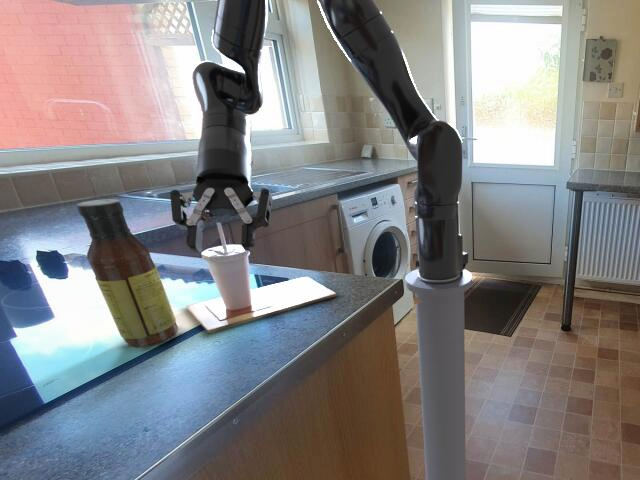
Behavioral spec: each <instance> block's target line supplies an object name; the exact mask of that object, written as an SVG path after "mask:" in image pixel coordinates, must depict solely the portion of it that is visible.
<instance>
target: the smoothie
mask: <svg viewBox="0 0 640 480" xmlns="http://www.w3.org/2000/svg"><path fill="white" fill-rule="evenodd" d="M216 227H217V231H218V234H219V238H220V242H221V245H217V246H213V247H209V248H206V249H204V250H203V251H202V252H201V253H200V254H201V259H202V261H203V262H205V263H206V265H207V268H208V271H209V273H210V274H211V277H212V280H213V281H214V284H215V286H216V288H217V290H218V293H219V295H220V297H222V300H223V302H224V304H225V306H226V308H227V309H229V310H238V309H243V308H246V307H248V306H250V305H251V304H252V299H251V290H252V287H251V277H250V261H249V256H250V254H251V252H250V251H245V250H244V248H243V247H242V244H227V242H226V238H225V234H224V230H223V226H222V222H220V221H218V222H216Z"/></svg>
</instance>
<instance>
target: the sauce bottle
mask: <svg viewBox="0 0 640 480" xmlns="http://www.w3.org/2000/svg"><path fill="white" fill-rule="evenodd" d="M76 208H77V211H78V215H80V217H82V218H83V220H84V222H85V225H86V228H87V229H88V233H89V237H90V239H91V242H90V245H89V247H88V249H87V253H86V254H87V255H86V258H87V261H88V262H89V265H90V268H91V269H92V271H93V272H92V273H94V276H95V277H94V278H95V281H96V283H97V285H98V288H99V289H100V292H101V295H102V296H103V298H104V300H105V303H106V306H107V307H108V310H109V313H110V314H111V317H112V319H113V322H114V324H115V326H116V328H117V331H118V333H119V335H120V338H122V339H123V341H124V343H125V344H127V345H128V346H129V347H134V348H141V347H147V346H148V347H149V346H151V347H152V346H155V345H158V344H161V343H164V342H167V341H169V340H171V339H172V338H173V337H175V336H176V335H177V333H179V331H178V330H179V326H178V324H177V319H176V316H175V314H174V310H173V308H172V305H171V303H170V300H169V298H168V294H167V292H166V290H165V287H164V284H163V282H162V281H163V280H162V279H161V276H160V274H159V271H158V268H157V266H156V263H155V262H154V261H153V259H152V256H151V253H150V250H149V248H148V247H147V246H146V245H145V244H143V243H142V242H141V241H140V240H139V239H138V238H137V237H136V236H135V235H134V234H133V233H132V232H131V228H129V227H128V223H127V221H126V218H125V215H124V208H123V205H122V203H121V201H120V200H119V199H112V198H111V199H95V200H86V201H82V202H79V203H77V204H76Z"/></svg>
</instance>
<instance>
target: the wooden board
mask: <svg viewBox="0 0 640 480" xmlns="http://www.w3.org/2000/svg"><path fill="white" fill-rule="evenodd" d="M335 297H338V296H337V292H335V291H333V290H331V289H329V288H328V287H326V286H324V285H323V284H321V283H319V282H318V281H316V280H314V279H312V278H311V277H309V276H303V277H299V278H294V279H290V280H287V281H281V282H278V283H273V284H269V285H266V286H261V287H256V288H254V289H251V299H252V304H251V305H250V306H248V307H246V308H243V309H238V310H229V309H227V308H226V306H225V304H224V302H223V300H222V297H221V296H219V297H217V298H212V299H208V300H204V301H201V302H200V301H199V302H196V303H192V304H187V305H185V307H186V310H187V311H188V312H189V313H190V314H191V316H193V317H194V319H195V320H196V321H197V322H198V323H199V325H201V327H202V329H204V330H205V331H206V333H208V334H212V333H215V332H219V331H223V330H227V329H230V328H233V327H237V326H240V325H243V324H246V323H251V322H253V321H257V320H260V319H264V318H267V317H270V316H274V315H277V314H281V313H284V312H288V311H291V310H294V309H298V308H301V307H304V306H308V305H311V304H315V303H319V302H323V301H325V300H329V299H332V298H335Z"/></svg>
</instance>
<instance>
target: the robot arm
mask: <svg viewBox="0 0 640 480" xmlns="http://www.w3.org/2000/svg"><path fill="white" fill-rule="evenodd" d="M316 1H317V4H318V6H319V8H320V11H321V14H322V16H323V18H324V21H325V23H326V25H327V28H328V29H329V30H330V32H331V34H332V36H333V38H334V40H335V41H336V42H337V45H338V46H339V48H340V49H341V50H342V51H343V53H344V54H345V56H346V57H347V59H348V61H349V62H350V64H351V65H352V66H353V67H354V69H355V70H356V71H357V73H358V75H360V77H361V79H362V80H363V81H364V82H365V84H366V85H367V87H368V88H369V89H370V91H371V92H372V93H373V94H374V96H375V97H376V99H377V100H378V102H379V103H380V104H381V105H382V106H383V108H384V110H386V112H387V113H388V115H389V117H390V118H391V120H392V122H393V124H394V125H395V128H396V129H397V131H398V133H399V134H400V136H401V138H402V140H403V142H404V144H405V146H406V148H407V149H408V151H409V153H410V155H411V156H412V157H413V159H414V161H416V164H417V165H416V167H417V171H416V172H417V182H416V185H415V187H414V190H413V196H414V197H413V200H414V216H415V232H416V235H415V236H416V251H417V253H416V254H417V260H416V261H415V262H414V263H415V269H418V278H419V280H421V281H422V282H425V283H429V284H446V283H451V282H454V281H456V280H458V279H459V278H460V276H463V270H464V269H465V268H466V266H467V264H468V263H469V253H468V252H465V251H464V242H463V241H464V240H463V239H464V237H463V236H462V235H463V234H460V208H459V207H460V206H459V205H460V202H459V199H460V192H461V189H462V184H463V144H462V143H463V141H462V138H461V136H460V134H459V131H458V130H457V129H456V128H455V126H454V125H452V124H451V123H449V122H447V121H444V120H440V119H437V118H436V116H435V115H434V114H433V113H432V111H431V109H430V108H429V106H428V105H427V104H426V102H425V101H424V99H423V98H422V96H421V95H420V93H419V91H418V90H417V87H416V84H415V83H414V79H413V77H412V74H411V71H410V68H409V65H408V62H407V59H406V56H405V54H404V51H403V49H402V46H401V44H400V42H399V41H398V38H397V36H396V35H395V32H394V30H393V29H392V28H391V26H390V24H389V22H388V21H387V19H386V17H385V16H384V13H382V10H381V9H380V7H379V6H378V4H377V2H376V1H375V0H316ZM268 21H269V0H217V2H216V8H215V16H214V22H213V29H212V36H211V42H212V46H213V48H214V49H215V50H216V51H217V53H219V54H220V55H221V56H223V57H224V58H226V59H228V60H229V61H231V62H233V63H235V65H238V66H239V67H240V68H241V70H243V72H242V71H240V70H237V69H234V68H232V67H229V66H226V65H223V64H221V63H218V62H215V61H211V60H203V61H201V62H199V63H197V64H196V65H195V66H194V68H193V71H192V75H191V76H192V85H193V89H194V93H195V95H196V98H197V101H198V103H199V106H200V111H201V117H202V121H201V134H200V139H199V142H198V147H197V148H198V149H197V163H196V173H195V186H194V188H193V189H191V191H188V192H180V191H179V190H178V189H172V190H170V192H169V195H170V196H169V197H170V207H171V208H170V209H171V218H172V221H173V223H175V225H176V226H177V227H178V228H179V229H180V230H181V231H186V238H185V239H186V240H185V244H186V245H187V247H188V248H189V249H190V250H191V251H192V252H193V253H194V254H201V253H202V252H203V251H202V250H203V240H204V239H203V238H204V236H203V235H204V233H203V232H202V231H203V230H204V229H205V227H206V226H207V224H210V223H212V221H213V219H214V218H215V217H216V218H217V217H225V216H229V217H237V215H239V217H240V219H241V220H242V222H243V224H241V239H240V240H241V243H240V245H242V247H243V248H244V250H245V251H249V252H250V251H252V248H254V247H255V246H256V230H257V229H259V228H268V227H269V226H270V221H271V215H272V210H273V205H274V204H273V203H274V198H273V195H272V193H271V192H270V189H268V188H263V189H262V190H260V191H258V190H253V189H252V187H253V186H252V185H253V165H254V160H253V150H252V122H251V119H250V118H249V116H251V115H255V114H257V113H258V112H259V111H260V110H261V109H262V106H263V102H264V94H263V86H262V77H261V59H262V52H263V49H264V43H265V38H266V33H267V28H268ZM248 115H249V116H248ZM193 201H195V202H196V204H195V206H193V208H192V213H191V214H190V216H189V214H188V213H189V212H188V208H190V207H191V204H192V202H193ZM253 201H256V203H257V205H258V206H257V211H256V216H253V217H252V216H251V215H250V214H249V212H248V211H247V209H246V208H247V207H248V206H250V204H251V203H252V202H253Z"/></svg>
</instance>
